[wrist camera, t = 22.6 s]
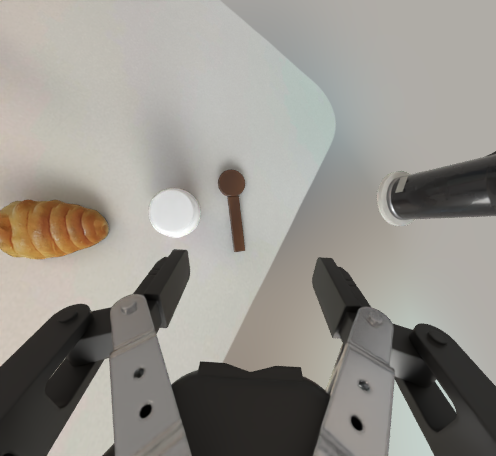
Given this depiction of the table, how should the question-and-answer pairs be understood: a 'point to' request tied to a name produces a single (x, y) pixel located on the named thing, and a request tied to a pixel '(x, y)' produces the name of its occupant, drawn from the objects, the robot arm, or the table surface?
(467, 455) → the robot arm
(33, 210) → the pastry
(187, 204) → the pill bottle
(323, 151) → the table surface
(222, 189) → the spoon
